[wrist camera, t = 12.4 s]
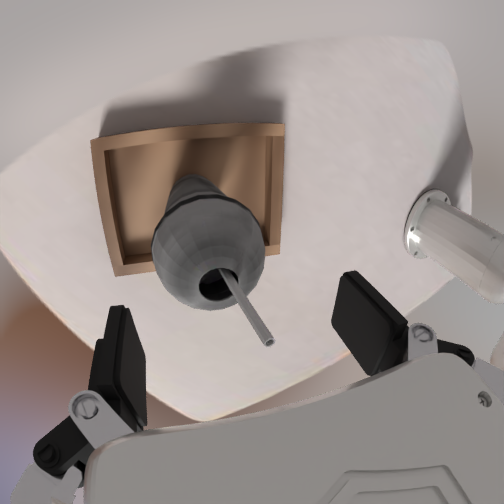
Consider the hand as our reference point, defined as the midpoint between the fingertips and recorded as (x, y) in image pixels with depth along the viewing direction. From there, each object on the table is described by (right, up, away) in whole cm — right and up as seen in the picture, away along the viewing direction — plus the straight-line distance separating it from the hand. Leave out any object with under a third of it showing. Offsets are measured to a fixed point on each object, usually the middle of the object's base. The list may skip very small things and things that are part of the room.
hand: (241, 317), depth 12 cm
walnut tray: (-6, +9, +16) cm, 20 cm away
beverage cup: (-6, +8, +16) cm, 19 cm away
